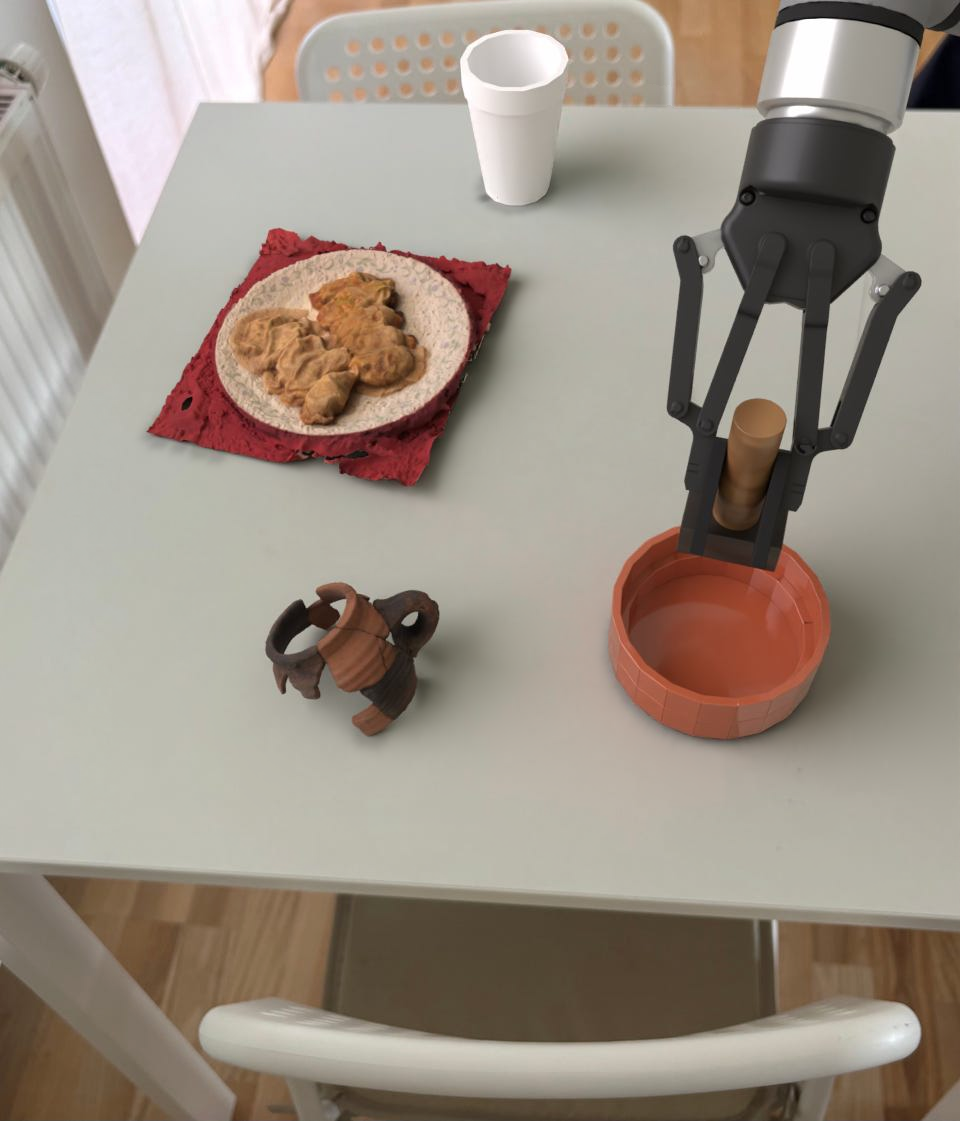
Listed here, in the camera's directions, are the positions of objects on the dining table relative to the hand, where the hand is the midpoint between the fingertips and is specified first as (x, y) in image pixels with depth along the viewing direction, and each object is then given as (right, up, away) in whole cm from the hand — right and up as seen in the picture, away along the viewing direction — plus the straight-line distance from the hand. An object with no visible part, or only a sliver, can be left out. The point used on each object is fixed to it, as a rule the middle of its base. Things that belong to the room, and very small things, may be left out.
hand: (727, 555), depth 63 cm
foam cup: (-11, +36, +44) cm, 58 cm away
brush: (+1, +1, +5) cm, 5 cm away
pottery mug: (-22, -8, +15) cm, 28 cm away
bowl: (+2, -7, +14) cm, 16 cm away
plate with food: (-26, +17, +32) cm, 45 cm away
